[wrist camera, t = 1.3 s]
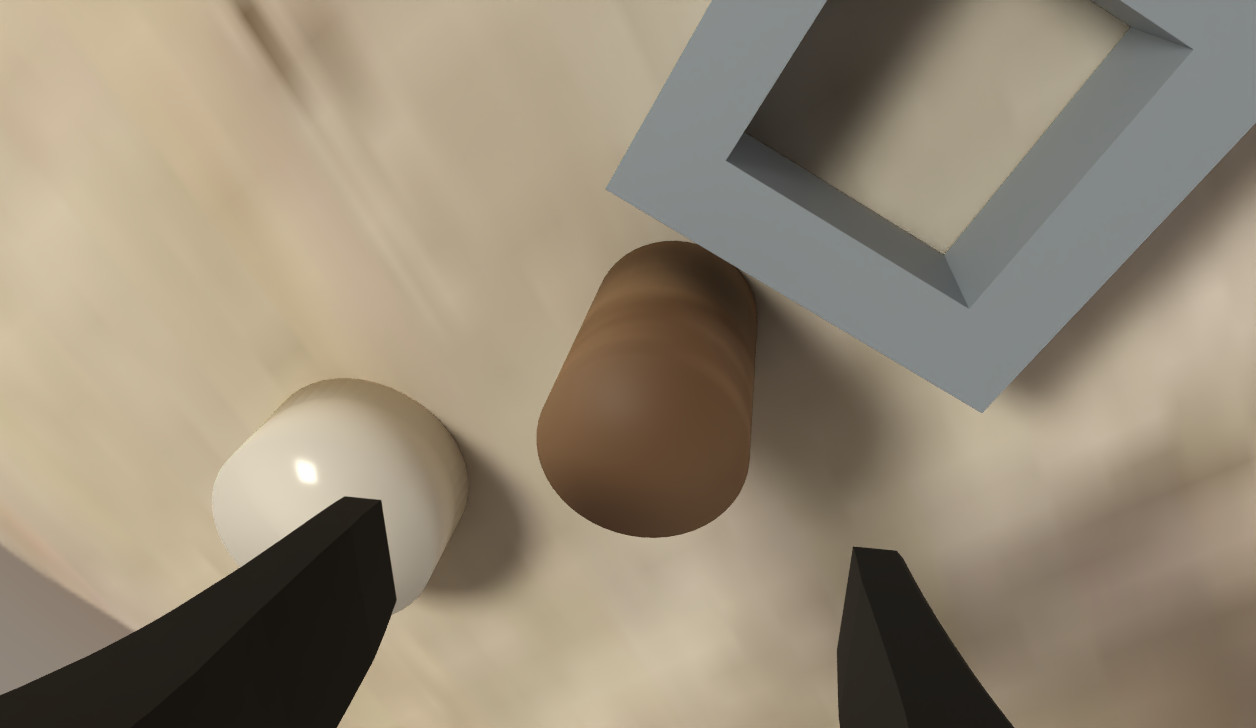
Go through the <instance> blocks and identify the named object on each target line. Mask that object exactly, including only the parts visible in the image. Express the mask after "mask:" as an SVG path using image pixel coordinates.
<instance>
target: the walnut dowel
mask: <svg viewBox="0 0 1256 728" xmlns="http://www.w3.org/2000/svg"><path fill="white" fill-rule="evenodd" d="M756 338H757V308H756V302H755V299H754V296H753V293H752V291H751V288H750V286H749V284H748V283H747V281H746V279H745V278H744V276H743V275H742V274H741V273H740V271H739V270H738V269H737V268H736V267H735V266H734V265H732V264H730V263H729V262H727V261H725V260H724V259H722V258H720V257H718V256H717V255H715V254H713V253H712V252H710V251H708V250H707V249H705V248H703V247H702V246H700V245H698V244H694V243H689V242H682V241H663V242H657V243H652V244H649V245H645V246H642V247H640V248H638V249H635V250H633V251H632V252H630V253H628V254H627V255H625V256H624V257H623V258H621V259H620V260H619V261H618V262H617V263H616V264H615V265H614V266H613V267H612V268H611V269H610V271H609V272H608V273H607V275H606V276H605V278H604V280H603V282H602V284H601V286H600V288H599V290H598V292H597V294H596V296H595V299H594V301H593V303H592V305H591V307H590V309H589V311H588V313H587V316H586V318H585V320H584V322H583V324H582V326H581V328H580V330H579V333H578V335H577V337H576V339H575V341H574V343H573V345H572V347H571V350H570V352H569V354H568V356H567V358H566V360H565V362H564V364H563V367H562V369H561V371H560V373H559V375H558V377H557V379H556V381H555V384H554V386H553V388H552V390H551V392H550V394H549V396H548V398H547V401H546V403H545V405H544V407H543V409H542V412H541V415H540V418H539V421H538V427H537V450H538V456H539V459H540V463H541V466H542V469H543V471H544V473H545V475H546V477H547V479H548V481H549V482H550V484H551V486H552V487H553V489H554V490H555V491H556V493H557V494H558V495H559V496H560V497H561V499H562V500H563V501H564V502H565V503H566V504H568V505H569V506H570V507H571V508H572V509H573V510H575V511H576V512H577V513H578V514H580V515H581V516H583V517H584V518H586V519H588V520H589V521H591V522H593V523H595V524H597V525H599V526H601V527H603V528H606V529H608V530H611V531H614V532H617V533H621V534H625V535H630V536H637V537H650V538H658V537H669V536H675V535H680V534H684V533H687V532H690V531H693V530H696V529H698V528H700V527H702V526H705V525H706V524H708V523H710V522H711V521H713V520H715V519H716V518H717V517H718V516H720V515H721V514H722V513H723V512H725V511H726V510H727V508H728V507H729V506H730V505H731V504H732V503H733V502H734V500H735V499H736V497H737V496H738V495H739V493H740V491H741V489H742V487H743V485H744V483H745V479H746V476H747V473H748V468H749V460H750V444H751V426H752V409H753V391H754V373H755V356H756Z"/></svg>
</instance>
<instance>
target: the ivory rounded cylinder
mask: <svg viewBox="0 0 1256 728" xmlns="http://www.w3.org/2000/svg"><path fill="white" fill-rule="evenodd" d="M468 490H469V486H468V475H467V470H466V465H465V462H464V459H463V457H462V454H461V452H460V450H459V448H458V446H457V444H456V442H455V441H454V439H453V438H452V436H451V435H450V433H449V432H448V430H447V429H446V428H445V427H444V426H443V424H442V423H441V422H440V421H439V420H438V419H437V418H436V417H435V416H434V415H433V414H432V413H431V412H430V411H428V410H427V409H426V408H425V407H423V406H422V405H421V404H419V403H418V402H417V401H415V400H413V399H412V398H410V397H408V396H407V395H405V394H403V393H401V392H399V391H397V390H395V389H392V388H390V387H387V386H384V385H381V384H379V383H375V382H370V381H366V380H360V379H351V378H338V379H329V380H323V381H320V382H316V383H312V384H310V385H308V386H306V387H303V388H301V389H300V390H298V391H297V392H295V393H294V394H292V395H291V396H290V397H289V398H288V399H287V400H286V401H285V402H284V403H283V404H282V405H281V406H280V407H279V408H278V409H277V410H276V411H275V412H274V413H273V414H272V415H271V416H270V417H269V418H268V419H267V420H266V421H265V422H264V423H263V424H262V425H261V426H260V427H259V428H258V429H257V430H256V432H255V433H254V434H253V435H252V436H251V437H250V438H249V439H248V440H247V441H246V442H245V443H244V444H243V445H242V446H241V447H240V448H239V449H238V450H237V451H236V452H235V453H234V454H233V455H232V456H231V457H230V458H229V459H228V460H227V461H226V463H225V464H224V465H223V467H222V468H221V470H220V471H219V473H218V476H217V478H216V480H215V483H214V487H213V491H212V512H213V518H214V522H215V526H216V528H217V531H218V534H219V536H220V538H221V540H222V542H223V544H224V546H225V548H226V549H227V551H228V552H229V554H230V555H231V557H232V558H233V560H234V561H235V562H236V563H237V564H238V566H239V567H242V566H243V565H245V564H246V563H247V562H249V561H250V560H252V559H253V558H255V557H256V556H258V555H259V554H261V553H262V552H264V551H265V550H266V549H268V548H269V547H271V546H272V545H274V544H275V543H277V542H278V541H280V540H281V539H282V538H284V537H285V536H287V535H288V534H290V533H291V532H292V531H294V530H295V529H297V528H298V527H300V526H301V525H302V524H304V523H305V522H307V521H308V520H310V519H311V518H312V517H314V516H315V515H317V514H318V513H320V512H321V511H323V510H324V509H326V508H327V507H329V506H330V505H332V504H333V503H335V502H336V501H338V500H339V499H341V498H343V497H344V496H347V497H357V498H367V499H377V500H381V501H382V508H383V514H384V521H385V527H386V534H387V540H388V546H389V553H390V559H391V566H392V572H393V579H394V585H395V591H396V598H397V601H396V604H395V607H394V609H393V612H392V614H394V613H396V612H399V611H401V610H403V609H404V608H405V607H407V606H408V605H410V604H411V603H412V602H413V601H414V600H415V599H416V598H417V597H418V596H419V595H420V594H421V592H422V591H423V590H424V588H425V586H426V585H427V583H428V581H429V579H430V577H431V575H432V573H433V571H434V569H435V567H436V565H437V563H438V561H439V559H440V557H441V555H442V553H443V551H444V550H445V548H446V546H447V544H448V542H449V540H450V538H451V536H452V534H453V532H454V530H455V528H456V526H457V524H458V522H459V520H460V518H461V516H462V514H463V512H464V510H465V507H466V503H467V499H468Z"/></svg>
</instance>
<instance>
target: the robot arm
mask: <svg viewBox="0 0 1256 728" xmlns="http://www.w3.org/2000/svg"><path fill="white" fill-rule="evenodd" d="M396 601H397V598H396V591H395V585H394V579H393V572H392V566H391V559H390V553H389V546H388V540H387V534H386V527H385V521H384V514H383V508H382V501H381V500H377V499H367V498H357V497H347V496H344V497H343V498H341V499H339V500H338V501H336V502H335V503H333V504H332V505H330V506H329V507H327V508H326V509H324V510H323V511H321V512H320V513H318V514H317V515H315V516H314V517H312V518H311V519H310V520H308V521H307V522H305V523H304V524H302V525H301V526H300V527H298V528H297V529H295V530H294V531H292V532H291V533H290V534H288V535H287V536H285V537H284V538H282V539H281V540H280V541H278V542H277V543H275V544H274V545H272V546H271V547H269V548H268V549H266V550H265V551H264V552H262V553H261V554H259V555H258V556H256V557H255V558H253V559H252V560H250V561H249V562H247V563H246V564H245V565H243V566H242V567H240V568H239V569H237V570H236V571H234V572H233V573H231V574H230V575H228V576H226V577H225V578H223V579H222V580H220V581H219V582H217V583H215V584H214V585H212V586H211V587H209V588H207V589H206V590H204V591H203V592H201V593H199V594H198V595H196V596H195V597H193V598H191V599H190V600H188V601H187V602H185V603H184V604H182V605H180V606H179V607H177V608H176V609H174V610H172V611H171V612H169V613H167V614H165V615H164V616H162V617H160V618H159V619H157V620H155V621H153V622H152V623H150V624H148V625H146V626H144V627H143V628H141V629H139V630H137V631H135V632H133V633H131V634H130V635H128V636H126V637H124V638H122V639H120V640H119V641H117V642H115V643H113V644H111V645H109V646H107V647H105V648H103V649H101V650H99V651H97V652H95V653H93V654H91V655H89V656H87V657H85V658H83V659H80V660H78V661H76V662H74V663H72V664H69V665H67V666H65V667H63V668H61V669H58V670H57V671H54V672H52V673H50V674H48V675H45V676H43V677H41V678H39V679H37V680H34V681H32V682H30V683H28V684H26V685H24V686H22V687H19V688H17V689H14V690H12V691H10V692H7V693H5V694H2V695H0V728H337V726H338V724H339V723H340V721H341V719H342V717H343V715H344V714H345V712H346V710H347V708H348V706H349V705H350V703H351V701H352V699H353V697H354V695H355V694H356V692H357V690H358V688H359V686H360V684H361V683H362V681H363V679H364V677H365V675H366V673H367V671H368V670H369V668H370V666H371V664H372V662H373V660H374V658H375V655H376V653H377V651H378V648H379V646H380V643H381V641H382V638H383V636H384V633H385V631H386V628H387V625H388V623H389V620H390V617H391V615H392V612H393V609H394V607H395V604H396ZM837 672H838V707H839V722H840V728H1014V727H1013V726H1012V724H1011V723H1010V722H1009V721H1008V719H1007V718H1006V717H1005V715H1004V714H1003V713H1002V711H1001V710H1000V709H999V707H998V706H997V705H996V704H995V702H994V701H993V700H992V698H991V697H990V696H989V694H988V693H987V692H986V690H985V689H984V688H983V686H982V685H981V683H980V682H979V681H978V679H977V678H976V676H975V675H974V674H973V672H972V671H971V669H970V668H969V666H968V665H967V663H966V662H965V660H964V659H963V657H962V656H961V654H960V653H959V651H958V650H957V648H956V647H955V646H954V644H953V643H952V641H951V640H950V638H949V637H948V635H947V633H946V632H945V630H944V629H943V627H942V626H941V624H940V622H939V621H938V619H937V618H936V616H935V614H934V613H933V611H932V609H931V608H930V606H929V604H928V603H927V601H926V599H925V598H924V596H923V594H922V592H921V591H920V589H919V587H918V585H917V583H916V582H915V580H914V578H913V576H912V574H911V573H910V571H909V569H908V567H907V565H906V563H905V561H904V559H903V558H902V557H901V555H900V554H899V553H898V552H897V551H893V550H882V549H872V548H862V547H853V551H852V558H851V564H850V571H849V577H848V583H847V590H846V596H845V603H844V609H843V615H842V622H841V628H840V635H839V641H838V648H837Z"/></svg>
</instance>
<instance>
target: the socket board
mask: <svg viewBox="0 0 1256 728" xmlns="http://www.w3.org/2000/svg"><path fill="white" fill-rule="evenodd" d="M826 1H827V0H712V1H711V3H710V5H709V7H708V9H707V10H706V12H705V14H704V16H703V17H702V19H701V21H700V23H699V25H698V26H697V28H696V30H695V32H694V33H693V35H692V37H691V39H690V40H689V42H688V44H687V46H686V48H685V49H684V51H683V53H682V55H681V56H680V58H679V60H678V62H677V63H676V65H675V67H674V69H673V71H672V72H671V74H670V76H669V78H668V79H667V81H666V83H665V85H664V86H663V88H662V90H661V92H660V94H659V95H658V97H657V99H656V101H655V102H654V104H653V106H652V108H651V109H650V111H649V113H648V115H647V117H646V118H645V120H644V122H643V124H642V125H641V127H640V129H639V131H638V133H637V134H636V136H635V138H634V140H633V141H632V143H631V145H630V147H629V148H628V150H627V152H626V154H625V156H624V157H623V159H622V161H621V163H620V164H619V166H618V168H617V170H616V171H615V173H614V175H613V177H612V179H611V180H610V182H609V184H608V186H607V187H606V190H608V191H609V192H611V193H613V194H614V195H616V196H618V197H619V198H621V199H623V200H624V201H626V202H628V203H629V204H631V205H633V206H634V207H636V208H638V209H639V210H641V211H643V212H645V213H646V214H648V215H650V216H651V217H653V218H655V219H656V220H658V221H660V222H661V223H663V224H665V225H666V226H668V227H670V228H671V229H673V230H675V231H676V232H678V233H680V234H681V235H683V236H685V237H687V238H688V239H690V240H692V241H693V242H695V243H697V244H698V245H700V246H702V247H703V248H705V249H707V250H708V251H710V252H712V253H713V254H715V255H717V256H718V257H720V258H722V259H724V260H725V261H727V262H729V263H730V264H732V265H734V266H735V267H737V268H739V269H740V270H742V271H744V272H745V273H747V274H749V275H750V276H752V277H754V278H755V279H757V280H759V281H760V282H762V283H764V284H766V285H767V286H769V287H771V288H772V289H774V290H776V291H777V292H779V293H781V294H782V295H784V296H786V297H787V298H789V299H791V300H792V301H794V302H796V303H797V304H799V305H801V306H803V307H804V308H806V309H808V310H809V311H811V312H813V313H814V314H816V315H818V316H819V317H821V318H823V319H824V320H826V321H828V322H829V323H831V324H833V325H834V326H836V327H838V328H839V329H841V330H843V331H845V332H846V333H848V334H850V335H851V336H853V337H855V338H856V339H858V340H860V341H861V342H863V343H865V344H866V345H868V346H870V347H871V348H873V349H875V350H876V351H878V352H880V353H882V354H883V355H885V356H887V357H888V358H890V359H892V360H893V361H895V362H897V363H898V364H900V365H902V366H903V367H905V368H907V369H908V370H910V371H912V372H913V373H915V374H917V375H918V376H920V377H922V378H924V379H925V380H927V381H929V382H930V383H932V384H934V385H935V386H937V387H939V388H940V389H942V390H944V391H945V392H947V393H949V394H950V395H952V396H954V397H955V398H957V399H959V400H961V401H962V402H964V403H966V404H967V405H969V406H971V407H972V408H974V409H976V410H977V411H979V412H981V413H983V412H984V411H985V409H986V408H987V407H988V406H989V405H990V404H991V403H992V402H993V401H994V400H995V399H996V398H997V397H998V396H999V395H1000V394H1001V392H1002V391H1003V390H1004V389H1005V388H1006V387H1007V386H1008V385H1009V384H1010V383H1011V382H1012V381H1013V380H1014V379H1015V378H1016V377H1017V376H1018V374H1019V373H1020V372H1021V371H1022V370H1023V369H1024V368H1025V367H1026V366H1027V365H1028V364H1029V363H1030V362H1031V361H1032V360H1033V359H1034V357H1035V356H1036V355H1037V354H1038V353H1039V352H1040V351H1041V350H1042V349H1043V348H1044V347H1045V346H1046V345H1047V344H1048V343H1049V342H1050V341H1051V339H1052V338H1053V337H1054V336H1055V335H1056V334H1057V333H1058V332H1059V331H1060V330H1061V329H1062V328H1063V327H1064V326H1065V325H1066V324H1067V323H1068V321H1069V320H1070V319H1071V318H1072V317H1073V316H1074V315H1075V314H1076V313H1077V312H1078V311H1079V310H1080V309H1081V308H1082V307H1083V306H1084V304H1085V303H1086V302H1087V301H1088V300H1089V299H1090V298H1091V297H1092V296H1093V295H1094V294H1095V293H1096V292H1097V291H1098V290H1099V289H1100V288H1101V286H1102V285H1103V284H1104V283H1105V282H1106V281H1107V280H1108V279H1109V278H1110V277H1111V276H1112V275H1113V274H1114V273H1115V272H1116V271H1117V269H1118V268H1119V267H1120V266H1121V265H1122V264H1123V263H1124V262H1125V261H1126V260H1127V259H1128V258H1129V257H1130V256H1131V255H1132V254H1133V253H1134V251H1135V250H1136V249H1137V248H1138V247H1139V246H1140V245H1141V244H1142V243H1143V242H1144V241H1145V240H1146V239H1147V238H1148V237H1149V236H1150V234H1151V233H1152V232H1153V231H1154V230H1155V229H1156V228H1157V227H1158V226H1159V225H1160V224H1161V223H1162V222H1163V221H1164V220H1165V219H1166V218H1167V216H1168V215H1169V214H1170V213H1171V212H1172V211H1173V210H1174V209H1175V208H1176V207H1177V206H1178V205H1179V204H1180V203H1181V202H1182V201H1183V200H1184V198H1185V197H1186V196H1187V195H1188V194H1189V193H1190V192H1191V191H1192V190H1193V189H1194V188H1195V187H1196V186H1197V185H1198V184H1199V183H1200V181H1201V180H1202V179H1203V178H1204V177H1205V176H1206V175H1207V174H1208V173H1209V172H1210V171H1211V170H1212V169H1213V168H1214V167H1215V166H1216V165H1217V163H1218V162H1219V161H1220V160H1221V159H1222V158H1223V157H1224V156H1225V155H1226V154H1227V153H1228V152H1229V151H1230V150H1231V149H1232V148H1233V146H1234V145H1235V144H1236V143H1237V142H1238V141H1239V140H1240V139H1241V138H1242V137H1243V136H1244V135H1245V134H1246V133H1247V132H1248V131H1249V130H1250V128H1251V127H1252V126H1253V125H1254V124H1255V123H1256V0H1091V1H1092V2H1094V3H1095V4H1097V5H1098V6H1100V7H1101V8H1103V9H1104V10H1106V11H1107V12H1109V13H1110V14H1112V15H1113V16H1115V17H1116V18H1118V19H1119V20H1121V21H1122V22H1124V23H1125V24H1127V25H1128V26H1130V29H1129V30H1128V31H1127V32H1126V33H1125V35H1124V36H1123V37H1122V38H1121V40H1120V41H1119V42H1118V43H1117V44H1116V46H1115V47H1114V48H1113V49H1112V51H1111V52H1110V53H1109V54H1108V55H1107V57H1106V58H1105V59H1104V60H1103V62H1102V63H1101V64H1100V65H1099V66H1098V68H1097V69H1096V70H1095V71H1094V73H1093V74H1092V75H1091V76H1090V77H1089V79H1088V80H1087V81H1086V82H1085V84H1084V85H1083V86H1082V87H1081V88H1080V90H1079V91H1078V92H1077V93H1076V95H1075V96H1074V97H1073V98H1072V100H1071V101H1070V102H1069V103H1068V104H1067V106H1066V107H1065V108H1064V109H1063V111H1062V112H1061V113H1060V114H1059V115H1058V117H1057V118H1056V119H1055V120H1054V122H1053V123H1052V124H1051V125H1050V126H1049V128H1048V129H1047V130H1046V131H1045V133H1044V134H1043V135H1042V136H1041V137H1040V139H1039V140H1038V141H1037V142H1036V144H1035V145H1034V146H1033V147H1032V148H1031V150H1030V151H1029V152H1028V153H1027V155H1026V156H1025V157H1024V158H1023V159H1022V161H1021V162H1020V163H1019V164H1018V166H1017V167H1016V168H1015V169H1014V170H1013V172H1012V173H1011V174H1010V175H1009V177H1008V178H1007V179H1006V180H1005V181H1004V183H1003V184H1002V185H1001V186H1000V188H999V189H998V190H997V191H996V192H995V194H994V195H993V196H992V197H991V199H990V200H989V201H988V202H987V203H986V205H985V206H984V207H983V208H982V210H981V211H980V212H979V213H978V214H977V216H976V217H975V218H974V219H973V221H972V222H971V223H970V224H969V225H968V227H967V228H966V229H965V230H964V232H963V233H962V234H961V235H960V237H959V238H958V239H957V240H956V241H955V243H954V244H953V245H952V246H951V248H950V249H949V250H948V251H947V252H946V254H945V255H943V254H941V253H940V252H938V251H937V250H935V249H933V248H932V247H930V246H928V245H927V244H925V243H924V242H922V241H920V240H919V239H917V238H915V237H914V236H912V235H911V234H909V233H907V232H906V231H904V230H902V229H901V228H899V227H898V226H896V225H894V224H893V223H891V222H889V221H888V220H886V219H885V218H883V217H881V216H880V215H878V214H876V213H875V212H873V211H872V210H870V209H868V208H867V207H865V206H863V205H862V204H860V203H859V202H857V201H855V200H854V199H852V198H850V197H849V196H847V195H846V194H844V193H842V192H841V191H839V190H837V189H836V188H834V187H833V186H831V185H829V184H828V183H826V182H824V181H823V180H821V179H820V178H818V177H816V176H815V175H813V174H811V173H810V172H808V171H807V170H805V169H803V168H802V167H800V166H798V165H797V164H795V163H794V162H792V161H790V160H789V159H787V158H785V157H784V156H782V155H781V154H779V153H777V152H776V151H774V150H772V149H771V148H769V147H768V146H766V145H764V144H763V143H761V142H759V141H758V140H756V139H755V138H753V137H751V136H750V135H748V134H746V133H745V132H744V131H745V129H746V128H747V126H748V125H749V123H750V121H751V120H752V118H753V117H754V115H755V114H756V112H757V110H758V109H759V107H760V106H761V104H762V102H763V101H764V99H765V98H766V96H767V94H768V93H769V91H770V90H771V88H772V87H773V85H774V83H775V82H776V80H777V79H778V77H779V75H780V74H781V72H782V71H783V69H784V68H785V66H786V64H787V63H788V61H789V60H790V58H791V56H792V55H793V53H794V52H795V50H796V49H797V47H798V45H799V44H800V42H801V41H802V39H803V37H804V36H805V34H806V33H807V31H808V29H809V28H810V26H811V25H812V23H813V22H814V20H815V18H816V17H817V15H818V14H819V12H820V10H821V9H822V7H823V6H824V4H825V3H826Z"/></svg>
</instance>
